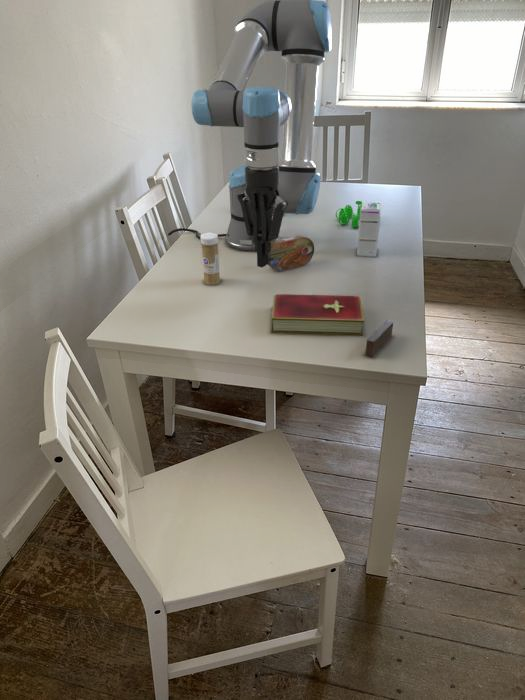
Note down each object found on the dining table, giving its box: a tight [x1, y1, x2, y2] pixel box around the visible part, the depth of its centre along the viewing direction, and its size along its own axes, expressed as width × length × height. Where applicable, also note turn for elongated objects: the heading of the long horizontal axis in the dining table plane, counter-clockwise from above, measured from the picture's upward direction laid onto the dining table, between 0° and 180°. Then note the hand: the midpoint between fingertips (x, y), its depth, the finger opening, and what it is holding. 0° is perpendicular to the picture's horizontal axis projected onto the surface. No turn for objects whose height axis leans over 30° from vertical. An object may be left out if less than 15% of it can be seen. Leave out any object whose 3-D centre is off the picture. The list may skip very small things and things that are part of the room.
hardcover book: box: [270, 293, 365, 336], centre depth 126 cm, size 12×21×4 cm, turn 86°
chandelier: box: [335, 200, 363, 229], centre depth 178 cm, size 15×15×7 cm
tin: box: [267, 235, 315, 272], centre depth 150 cm, size 15×3×8 cm, turn 117°
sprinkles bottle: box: [199, 232, 221, 286], centre depth 141 cm, size 5×5×14 cm
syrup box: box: [356, 201, 382, 258], centre depth 155 cm, size 6×6×14 cm
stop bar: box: [364, 319, 394, 358], centre depth 117 cm, size 2×10×4 cm, turn 144°
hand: (262, 264), depth 129 cm, fingers closed
